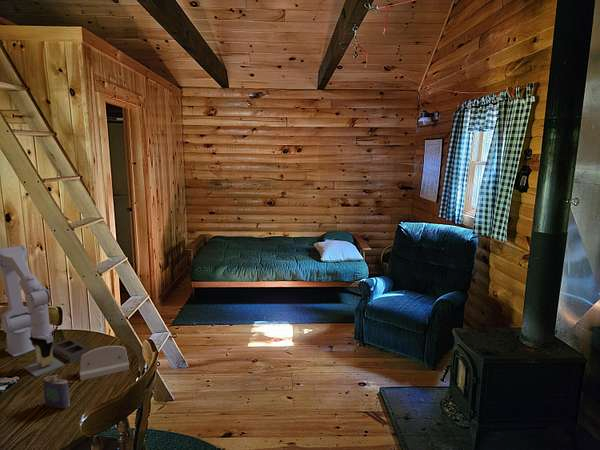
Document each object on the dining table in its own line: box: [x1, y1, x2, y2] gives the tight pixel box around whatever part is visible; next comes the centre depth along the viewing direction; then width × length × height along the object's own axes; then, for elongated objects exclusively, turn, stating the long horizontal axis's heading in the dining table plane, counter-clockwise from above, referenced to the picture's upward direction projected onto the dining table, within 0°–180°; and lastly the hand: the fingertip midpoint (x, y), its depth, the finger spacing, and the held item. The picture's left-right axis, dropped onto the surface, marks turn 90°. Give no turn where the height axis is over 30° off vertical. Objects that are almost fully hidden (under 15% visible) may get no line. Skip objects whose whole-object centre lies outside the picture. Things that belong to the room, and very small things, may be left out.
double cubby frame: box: [52, 337, 91, 363], centre depth 156 cm, size 16×8×2 cm, turn 56°
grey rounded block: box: [79, 345, 130, 381], centre depth 143 cm, size 17×5×10 cm, turn 118°
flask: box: [42, 373, 71, 410], centre depth 122 cm, size 9×3×11 cm, turn 74°
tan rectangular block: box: [35, 344, 54, 367], centre depth 145 cm, size 4×4×8 cm
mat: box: [23, 356, 66, 378], centre depth 145 cm, size 10×10×1 cm
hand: (43, 355), depth 145 cm, fingers closed on tan rectangular block, 4 cm apart
